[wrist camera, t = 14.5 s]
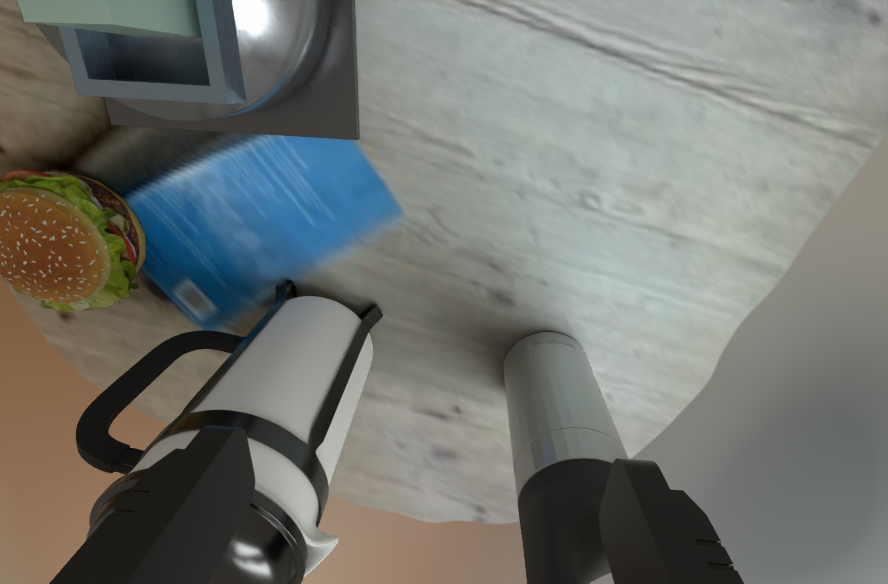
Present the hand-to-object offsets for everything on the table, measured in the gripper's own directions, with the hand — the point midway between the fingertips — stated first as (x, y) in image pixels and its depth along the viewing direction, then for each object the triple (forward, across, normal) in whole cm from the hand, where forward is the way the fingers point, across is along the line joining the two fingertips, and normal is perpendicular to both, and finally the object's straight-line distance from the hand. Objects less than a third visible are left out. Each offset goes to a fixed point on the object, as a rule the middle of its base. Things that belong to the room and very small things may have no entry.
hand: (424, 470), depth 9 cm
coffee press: (+34, +16, +18) cm, 41 cm away
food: (+34, +37, +7) cm, 51 cm away
